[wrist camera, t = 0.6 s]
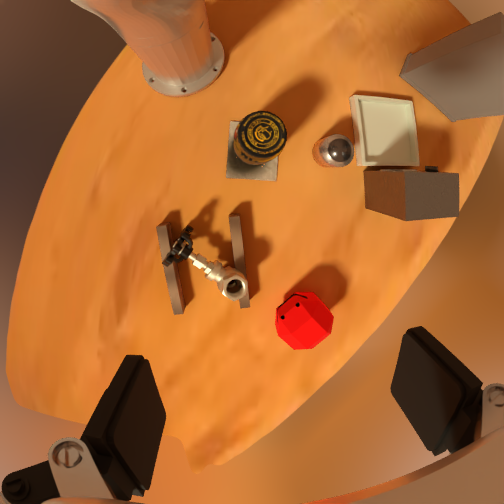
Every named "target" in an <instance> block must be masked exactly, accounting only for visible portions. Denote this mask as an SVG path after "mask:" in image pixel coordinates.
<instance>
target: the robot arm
mask: <svg viewBox="0 0 504 504" xmlns="http://www.w3.org/2000/svg"><path fill="white" fill-rule="evenodd" d="M70 1H72V2H73V3H75V4H77V5H78V6H80V7H82V8H84V9H86V10H88V11H90V12H92V13H94V14H96V15H98V16H100V17H101V18H102V19H104V20H105V21H106V22H107V23H108V24H109V25H110V26H112V28H113V29H114V30H115V31H116V32H117V33H118V34H119V35H120V36H121V37H122V38H123V39H124V41H125V42H126V43H127V44H128V45H129V46H130V47H131V49H132V50H133V51H134V52H135V53H136V54H137V55H138V57H139V58H140V59H141V60H142V61H143V63H142V70H143V75H144V78H145V80H146V81H147V83H148V84H149V85H150V86H151V87H152V88H153V89H154V90H155V91H157V92H158V93H161V94H163V95H166V96H171V97H183V96H189V95H192V94H196V93H198V92H200V91H202V90H204V89H205V88H207V87H208V86H210V85H211V84H212V83H213V82H214V81H215V80H216V78H217V77H218V76H219V74H220V72H221V70H222V68H223V65H224V49H223V46H222V43H221V42H220V40H219V39H218V38H217V37H216V36H215V35H214V34H213V33H211V32H210V29H209V23H208V18H207V12H206V6H205V0H70ZM212 41H213V42H212ZM214 70H217V71H214ZM154 80H155V81H154ZM152 81H154V82H152ZM184 90H187V91H186V92H185V93H184ZM482 384H483V383H482V382H481V381H480V380H479V379H478V378H477V377H476V376H475V375H474V374H473V373H472V372H471V371H470V370H469V369H468V368H467V367H466V366H465V365H464V364H463V363H462V362H461V361H460V360H458V359H457V357H455V356H454V355H453V354H452V353H451V352H450V351H449V350H448V349H447V348H446V347H445V346H444V345H443V344H441V343H440V342H439V341H438V340H437V339H436V338H435V337H433V335H431V334H430V333H429V332H428V331H427V330H426V329H425V328H423V327H422V326H419V327H414V328H410V329H408V330H407V332H406V334H404V335H403V338H402V343H401V348H400V352H399V357H398V361H397V365H396V369H395V373H394V376H393V380H392V384H391V393H392V395H393V397H394V398H395V400H396V401H397V403H398V404H399V406H400V407H401V409H402V411H403V412H404V414H405V415H406V417H407V418H408V420H409V421H410V423H411V424H412V426H413V428H414V429H415V431H416V432H417V434H418V435H419V437H420V439H421V440H422V442H423V443H424V445H425V447H426V448H427V450H429V451H432V453H433V454H434V456H437V455H439V454H441V453H443V452H445V451H446V450H447V449H448V450H449V452H450V453H449V456H447V457H445V458H443V459H441V460H439V461H436V462H434V463H433V464H430V465H428V466H426V467H423V468H421V469H419V470H416V471H414V472H412V473H409V474H407V475H404V476H402V477H399V478H396V479H394V480H391V481H388V482H385V483H382V484H379V485H376V486H373V487H370V488H366V489H363V490H360V491H356V492H352V493H349V494H345V495H341V496H336V497H332V498H327V499H323V500H318V501H312V502H307V503H301V504H504V385H503V384H497V383H496V384H490V385H488V386H487V387H486V388H485V389H484V390H482V389H481V386H482ZM165 421H166V412H165V409H164V406H163V403H162V401H161V398H160V395H159V392H158V389H157V386H156V383H155V379H154V376H153V373H152V370H151V367H150V363H149V361H148V360H147V359H144V357H143V356H142V355H126V356H125V358H124V360H123V362H122V363H121V365H120V367H119V369H118V371H117V372H116V374H115V376H114V378H113V380H112V382H111V383H110V385H109V387H108V389H106V390H105V392H104V394H103V395H102V397H101V399H100V401H99V403H98V405H97V407H96V409H95V411H94V413H93V414H92V416H91V418H90V420H89V422H88V424H87V426H86V428H85V430H84V432H83V434H82V436H81V438H80V439H77V438H71V437H68V438H62V439H60V440H58V441H56V442H55V443H54V444H53V445H52V446H51V447H50V449H49V452H48V460H47V461H45V462H42V463H39V464H37V465H34V466H31V467H28V468H25V469H22V470H19V471H16V472H12V473H10V474H8V476H6V477H5V478H4V480H3V482H2V491H1V492H0V504H143V503H135V502H130V501H129V500H131V497H132V495H136V496H142V497H143V496H144V492H145V490H149V488H150V485H151V480H152V475H153V471H154V467H155V462H156V458H157V454H158V450H159V445H160V441H161V437H162V433H163V429H164V425H165Z"/></svg>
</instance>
